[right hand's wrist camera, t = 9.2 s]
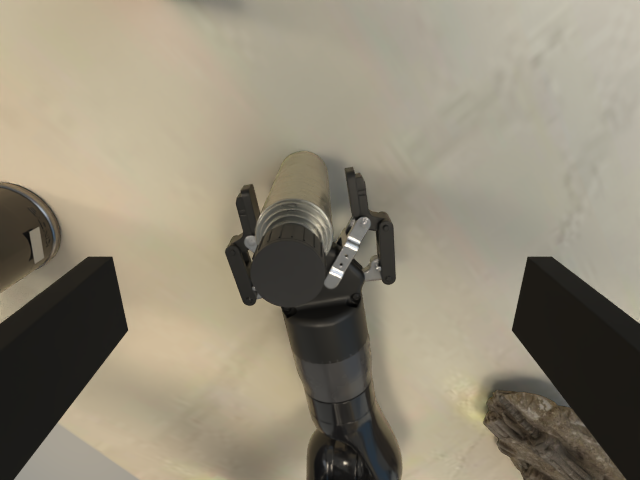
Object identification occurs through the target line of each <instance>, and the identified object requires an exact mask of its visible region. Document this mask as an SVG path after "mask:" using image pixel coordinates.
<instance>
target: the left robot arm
mask: <svg viewBox="0 0 640 480" xmlns="http://www.w3.org/2000/svg"><path fill="white" fill-rule="evenodd" d="M345 174H346V181H347V187H348V194H349V201H350V207H351V212H352V217H351V219H350V221H349V222H348V224H347V226H346V227H345V228H344V229H343V230H342V232H341V234H340V235H339V237H338V239H337V241H336V242H332V246H331V248H330V250H329V252H328V254H327V255H326V268H325V272H326V278H325V281H324V285H323V287H322V289H321V291H320V292H319V294H318V295H317V296H316V297H315V298H314V299H312V300H311V301H310V302H308V303H306V304H304V305H301V306H297V307H281V308H282V312H283V316H284V320H285V324H286V328H287V332H288V336H289V340H290V344H291V348H292V352H293V356H294V360H295V364H296V368H297V371H298V374H299V376H300V379H301V381H302V383H303V386H304V390H305V394H306V398H307V402H308V406H309V410H310V414H311V418H312V420H313V422H314V424H315V426H316V428H317V429H316V431H315V432H314V433H313V435H312V436H311V438H310V441H309V444H308V449H307V475H306V480H401V477H402V457H401V452H400V448H399V445H398V442H397V439H396V437H395V435H394V433H393V430H392V429H391V427H390V425H389V423H388V422H387V420H386V418H385V416H384V414H383V413H382V411H381V408H380V406H379V404H378V403H377V401H376V397H375V391H374V385H373V379H372V372H371V349H370V343H369V334H368V330H367V323H366V317H365V311H364V304H363V298H362V286H363V284H364V281H373V280H382V281H383V283H384V284H387V285H390V284H392V283H394V282H395V279H396V274H395V252H394V231H393V224H392V222H391V220H390V218H389V216H388V214H387V213H386V212H379V213H378V212H373V211H370V210H369V209H368V202H367V195H366V188H365V182H364V179H363V177H362V176H361V174H360V173H356V174H355V172H354V169H353V167H350V168H345ZM236 206H237V210H238V214H239V217H240V221H241V225H242V229H243V233H242V234H240V235H236V236H233V237H232V239H231V241H230V244H229V245H228V246H227V248H226V250H225V253H226V256H227V259H228V262H229V265H230V267H231V270H232V273H233V276H234V278H235V281H236V284H237V287H238V289H239V292H240V295H241V298H242V300H243V303H244V304H246V305H248V306H251V305H254V304H255V302H256V299H259V298H262V297H261V296H260V295H259V294H258V293H257V291H256V290H255V288H254V286H253V284H252V281H251V276H250V269H251V265H252V262H251V259H250V256H249V253H248V250H249V249H250V250H251V251H252V252H253V253H255V250H256V247H257V244H256V239H255V227H256V223H257V221H258V218H259V216H260V211H259V207H258V203H257V198H256V194H255V190H254V187H253V184H250V185H244V186H243V188H242V189H241V193H240V194H239V195H238V197H237V200H236ZM368 230H373V231H376V242H377V255H374V256H372V257H371V258H370V263H369V265H368V266H367V267H365V268H363V267H362V266H361V265H360V264H359V263H358V262H357V261H356V260H355V259H354V256H355V254H356V253H357V251H358V249H359V245H360V243H361V241H362V239H363V238H364V236H365V234H366V233H367V231H368ZM60 237H61V236H60V229H59V225H58V223H57V220H56V218H55V216H54V214H53V213H52V211H51V210H50V209H49V207H48V206H47V205H46V204H45V203H44V202H43V201H42V200H41V199H40V198H39V197H37V196H36V195H35V194H33V193H32V192H30V191H28V190H26V189H24V188H22V187H20V186H17V185H13V184H9V183H0V293H1V292H3V291H4V290H6V289H7V288H9V287H10V286H12V285H13V284H15V283H16V282H18V281H19V280H21V279H22V278H24V277H25V276H27V275H28V274H30V273H31V272H32V271H34V270H36V269H38V268H40V267H42V266H43V265H45V264H46V263H47V262H49V261H50V260H51V259H52V258H53V257H54V256H55V255H56V253H57V251H58V249H59V246H60Z"/></svg>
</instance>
